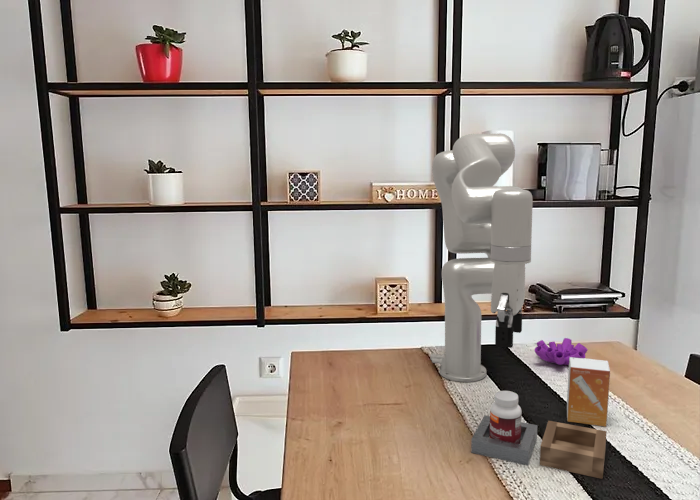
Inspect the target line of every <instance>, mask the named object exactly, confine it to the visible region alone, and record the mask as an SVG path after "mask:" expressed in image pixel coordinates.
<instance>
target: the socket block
mask: <svg viewBox="0 0 700 500" xmlns="http://www.w3.org/2000/svg"><path fill="white" fill-rule="evenodd" d="M489 432H490V415H486V414H484V416H483V418H482V419H481V421H480V422H479V424H478V426H477V428H476V430H475V432H474V433H473V435H472V437H471V443H470V444H471V447H470V448H471V450H470V452H471V454H476V455H479V456H484V457H489V458H493V459H497V458H498V459H497V460H503V461H506V460H507V461H506V462H511V463H516V464H520V465H524V464H526V465H525V466H529V463H530V461H531V458H532V455H533V451H534V448H535V445H536V443H537V439H538V425H537V424H532V423H527V422H522V421H521V443H520V444H516V443H511V442H506V441H501V440H497V439H492V438H489Z"/></svg>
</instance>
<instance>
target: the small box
mask: <svg viewBox="0 0 700 500" xmlns="http://www.w3.org/2000/svg"><path fill="white" fill-rule="evenodd" d="M610 377H611V370H610V363H609V360H603V359H594V358H593V359H592V358H586V357H585V358H573V357H569V365H568V376H567V394H566V395H567V396H566V397H567V398H566V418H567V419H566V421H567V422H569V423H578V424H584V425H593V426H599V427H603V428H604V427H605V428H606V427H607V422H608V421H607V420H608V409H609V408H608V407H609V395H610V394H609V393H610V381H611V378H610Z"/></svg>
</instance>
